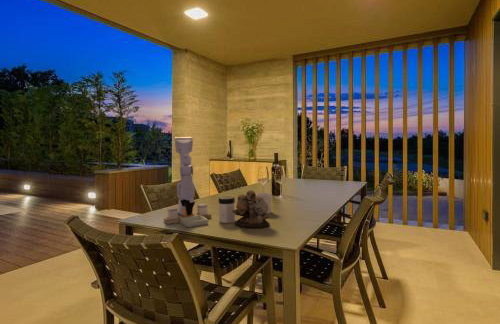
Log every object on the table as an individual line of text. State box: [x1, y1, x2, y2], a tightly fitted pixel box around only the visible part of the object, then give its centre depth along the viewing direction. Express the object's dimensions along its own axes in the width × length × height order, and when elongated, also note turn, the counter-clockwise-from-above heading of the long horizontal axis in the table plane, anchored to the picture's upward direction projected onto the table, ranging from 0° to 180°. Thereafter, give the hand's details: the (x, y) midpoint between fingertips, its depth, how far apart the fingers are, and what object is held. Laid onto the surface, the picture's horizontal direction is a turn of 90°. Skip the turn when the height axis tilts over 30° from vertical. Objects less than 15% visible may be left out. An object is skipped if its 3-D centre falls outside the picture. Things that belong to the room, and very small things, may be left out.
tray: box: [180, 215, 209, 228], centre depth 153 cm, size 11×11×2 cm
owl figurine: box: [233, 189, 271, 230], centre depth 147 cm, size 18×12×17 cm, turn 77°
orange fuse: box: [183, 206, 194, 217], centre depth 161 cm, size 4×4×7 cm
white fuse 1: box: [167, 206, 179, 220], centre depth 157 cm, size 4×4×7 cm
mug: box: [256, 192, 272, 215], centre depth 174 cm, size 12×8×10 cm, turn 78°
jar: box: [218, 195, 236, 224], centre depth 156 cm, size 9×8×12 cm
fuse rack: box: [163, 212, 212, 225], centre depth 161 cm, size 7×23×2 cm, turn 120°
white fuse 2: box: [196, 203, 208, 215], centre depth 165 cm, size 4×4×7 cm
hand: (187, 214), depth 161 cm, fingers closed on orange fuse, 4 cm apart
